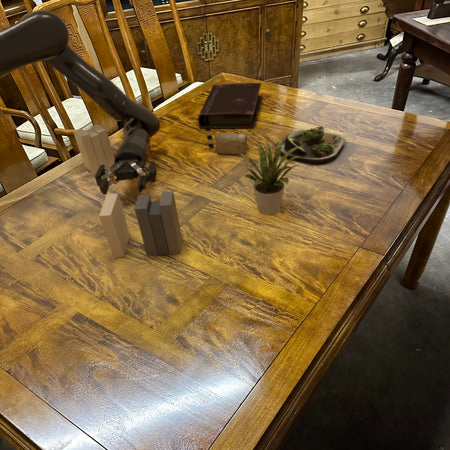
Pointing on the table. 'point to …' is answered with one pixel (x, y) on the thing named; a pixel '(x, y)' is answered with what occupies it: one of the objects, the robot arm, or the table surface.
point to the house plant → (270, 178)
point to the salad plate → (312, 146)
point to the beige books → (94, 148)
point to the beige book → (114, 225)
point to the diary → (231, 106)
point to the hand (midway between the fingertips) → (121, 190)
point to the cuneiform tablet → (228, 142)
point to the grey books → (159, 224)
